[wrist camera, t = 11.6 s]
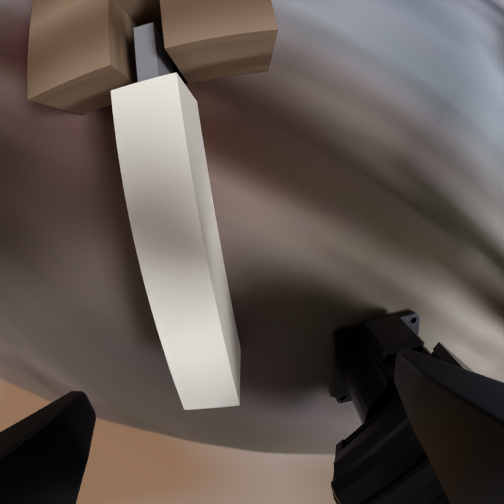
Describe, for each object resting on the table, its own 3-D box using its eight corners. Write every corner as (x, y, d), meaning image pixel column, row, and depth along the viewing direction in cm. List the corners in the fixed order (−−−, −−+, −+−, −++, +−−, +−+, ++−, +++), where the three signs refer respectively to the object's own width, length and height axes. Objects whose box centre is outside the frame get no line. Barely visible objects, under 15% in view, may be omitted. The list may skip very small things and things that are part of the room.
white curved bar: (240, 348, 21) (239, 405, 15) (197, 353, 21) (184, 409, 15) (190, 51, 16) (169, 7, 10) (143, 63, 16) (107, 26, 11)
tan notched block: (268, 71, 17) (277, 29, 11) (81, 115, 17) (27, 100, 11) (242, -45, 14) (242, -99, 8) (79, -2, 14) (40, -38, 9)
